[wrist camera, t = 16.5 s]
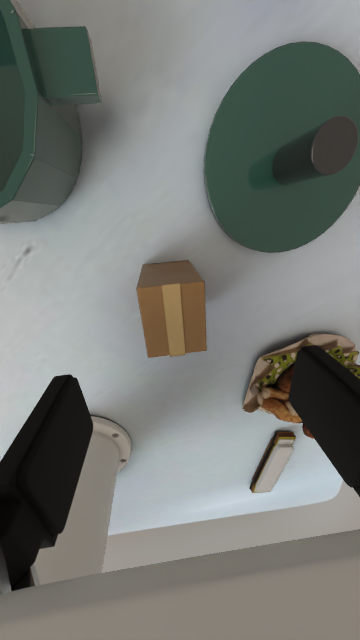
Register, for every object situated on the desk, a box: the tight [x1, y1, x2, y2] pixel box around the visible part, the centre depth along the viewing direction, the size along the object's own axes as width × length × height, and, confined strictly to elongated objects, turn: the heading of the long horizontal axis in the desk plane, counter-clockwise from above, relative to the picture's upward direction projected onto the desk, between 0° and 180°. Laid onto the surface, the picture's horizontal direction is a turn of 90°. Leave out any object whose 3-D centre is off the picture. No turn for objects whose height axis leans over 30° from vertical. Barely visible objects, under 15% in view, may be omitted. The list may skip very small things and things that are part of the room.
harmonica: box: [250, 432, 296, 493], centre depth 37 cm, size 15×3×2 cm, turn 171°
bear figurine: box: [243, 333, 360, 438], centre depth 25 cm, size 14×15×12 cm
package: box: [136, 260, 207, 358], centre depth 19 cm, size 6×5×8 cm
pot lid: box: [204, 42, 360, 253], centre depth 17 cm, size 14×14×6 cm
